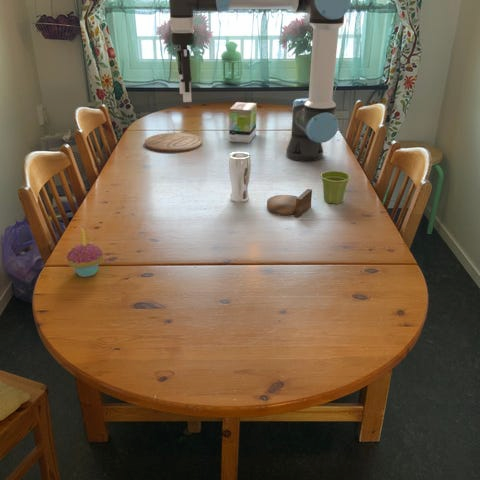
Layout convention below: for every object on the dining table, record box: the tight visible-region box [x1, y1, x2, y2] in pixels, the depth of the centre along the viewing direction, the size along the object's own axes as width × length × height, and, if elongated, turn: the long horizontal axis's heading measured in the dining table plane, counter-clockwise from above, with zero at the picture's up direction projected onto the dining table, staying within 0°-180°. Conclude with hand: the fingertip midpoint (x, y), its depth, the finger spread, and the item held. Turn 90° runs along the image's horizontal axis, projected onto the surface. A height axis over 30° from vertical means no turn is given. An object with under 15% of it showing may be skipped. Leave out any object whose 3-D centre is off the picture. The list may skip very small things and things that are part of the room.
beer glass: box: [228, 151, 252, 203], centre depth 162 cm, size 7×7×15 cm
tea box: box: [228, 101, 258, 144], centre depth 226 cm, size 15×10×15 cm
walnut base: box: [266, 188, 313, 218], centre depth 158 cm, size 13×12×6 cm
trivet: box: [144, 132, 203, 154], centre depth 220 cm, size 25×25×2 cm
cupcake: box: [66, 224, 104, 278], centre depth 121 cm, size 9×8×12 cm
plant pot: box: [320, 170, 351, 205], centre depth 163 cm, size 9×9×9 cm
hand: (185, 97), depth 173 cm, fingers open, 13 cm apart
